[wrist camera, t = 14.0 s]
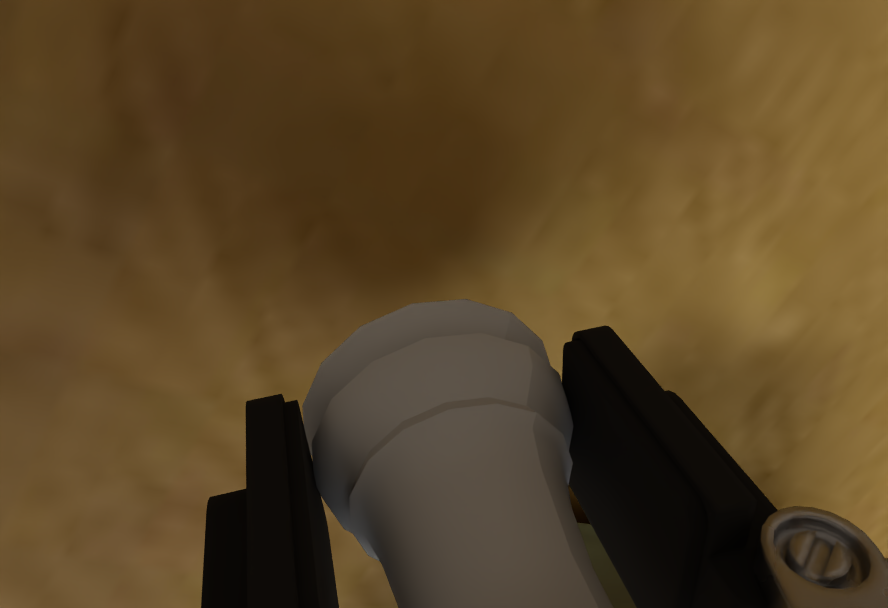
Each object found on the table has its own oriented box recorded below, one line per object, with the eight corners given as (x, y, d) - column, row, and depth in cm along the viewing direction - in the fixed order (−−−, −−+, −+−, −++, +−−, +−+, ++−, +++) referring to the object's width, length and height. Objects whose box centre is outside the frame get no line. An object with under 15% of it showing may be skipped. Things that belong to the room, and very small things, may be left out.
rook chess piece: (395, 237, 10) (669, 855, 4) (590, 348, 12) (983, 860, 6) (250, 441, 12) (259, 1168, 5) (449, 509, 14) (641, 1080, 7)
